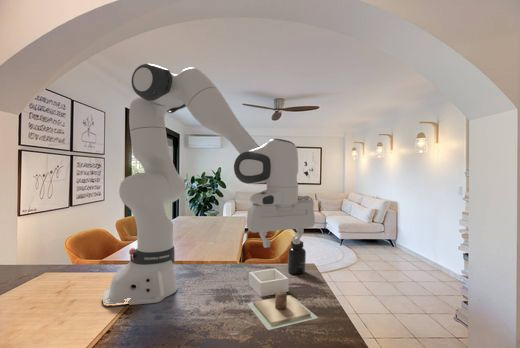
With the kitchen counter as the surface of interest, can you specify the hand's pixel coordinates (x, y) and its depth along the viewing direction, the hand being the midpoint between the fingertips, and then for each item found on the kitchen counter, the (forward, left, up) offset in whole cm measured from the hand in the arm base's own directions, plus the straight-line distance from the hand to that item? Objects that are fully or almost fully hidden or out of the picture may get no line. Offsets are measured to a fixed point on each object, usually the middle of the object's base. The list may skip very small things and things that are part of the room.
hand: (281, 245), depth 80 cm
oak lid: (0, 0, -19) cm, 19 cm away
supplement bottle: (+20, +25, -19) cm, 37 cm away
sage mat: (0, 0, -19) cm, 19 cm away
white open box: (+3, +15, -19) cm, 25 cm away
